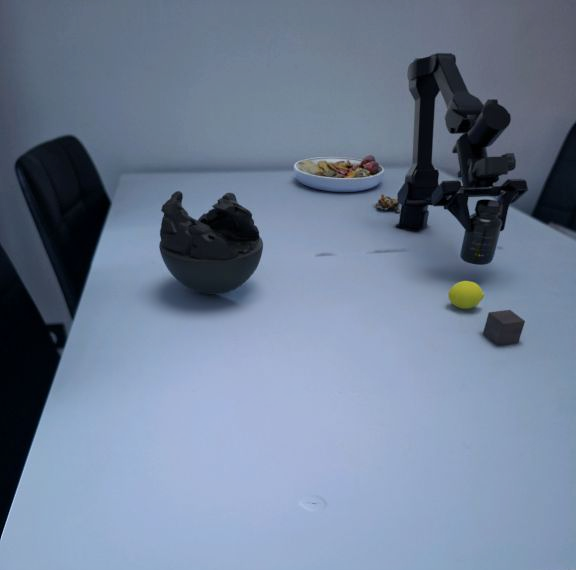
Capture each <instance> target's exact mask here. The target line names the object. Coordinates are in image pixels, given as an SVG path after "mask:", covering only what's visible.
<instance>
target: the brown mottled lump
mask: <svg viewBox="0 0 576 570" xmlns="http://www.w3.org/2000/svg"><path fill="white" fill-rule="evenodd" d="M380 197H381V198H380V199H378V200H377V202H376V203H375V208H379V209H381V210H388V209H395V212H396V213H399V214H400V212H401V209H400V208H399V205H400V203H398V202H397V198H393V197H391V196H385V194H383V193H381V195H380Z"/></svg>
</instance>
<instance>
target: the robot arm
mask: <svg viewBox="0 0 576 570" xmlns="http://www.w3.org/2000/svg"><path fill="white" fill-rule="evenodd" d="M406 76H407V77H406V78H407V80H408V91H409V92H410V93H409V94H410V95H411V96H412V98H413V100H414V113H413V115H414V116H413V139H412V140H413V141H412V161H411V166H410V167H409V169H408V170H407V172H406V174H405V177H404V183H403V184H402V186H401V187H400V189H399V190H398V192H397V195H396V196H397V197H396V199H397V202H398V203H399V205H401V207H400V212H399V220H398V223H397V224H395V227H397V228H400V229H404V230H408V231H412V232H420V231H421V230H423V229H425V228H426V227H428V220H429V214H430V210H428V209H429V206H433V207H443V210H445V211H446V210H447V211H448V212H449V213H450V214H451V215H452V216H453V217H454V218H455V219H456V220H457V221H458V222H459V224H460V225H461V227H462V228H463V229H464V231H465V230H466V231H467V232H468V233H470V232H471V231H472V225H471V219H470V215H471V214H470V209H469V204H468V203H469V198H484V197H485V198H487V197H493V200H495V201H498V202H500V203H501V204H502V206H501V210H500V211H501V212H500V214H499V215H498V216H499V217H500V218H501V220H502V227H501V230H500V232H503V231H504V230H505V227H506V222H507V217H508V211H509V207H510V205H511V204H515V203H516V202H517V201H518V200H519V199H520V198H521V197H523V196H524V195H525V194H526V193H527V192H528V191H529V186H528V182H527V180H526V179H524V178H507V179H506V180H505V181H504V182H503V183H502V184H500V185H497V186H494V184H495V183H497V182H498V181H500V177H501V176H503V175H504V176H505V175H506V176H507V175H508V174H509V172H511V171H514V170H515V169H516V167H517V160H516V156H515V152H506V153H504V154H501V156H489V155H488V149H487V148H489V147H491V146H492V145H493V144H494V143H495V142H496V141H497V140H498V138H499V137H500V136H501V135H502V134H503V133H504V132H505V131H506V129H507V128H508V127H509V125H510V124H511V120H512V117H511V113H509V111H508V109H506V107H505V106H504V105H502V104H499V101H498V99H496V98H495V99H494V98H493V99H492V98H489V99H488V98H487V100H486V101H485V103H484V104H483V102H482V101H481V100H480V98H479V97H477V96H476V95H474V94H471V93H470V92H469V90H468V87H467V85H466V83H465V81H464V78H463V76H462V74H461V71H460V70H459V68H458V65H457V57H456V55H455V54H453V53H452V52H435V53H432V54H430V55H429V56H425V57H416V58H414V59H413V61H412V62H410V63H409V65H408V66H407V73H406ZM439 93H440V94H441V96H442V98H443V101H444V103H445V106H446V111H445V115H444V122H445V127H446V129H447V131H448V133H449V134H450V135H451V134H452V135H460V136H459V137H458V139H456V141H455V144H454V145H453V147H452V150H451V152H452V154H457V160H458V165H459V170H458V171H457V173H456V174H457V178H461V181H460V180H459V179H458V180H457V179H455V180H442V181H441V182H440V184H439V177H440V172H439V169H436V168H435V166H434V164H433V146H434V131H435V130H434V127H435V109H436V98H437V97H438V95H439Z"/></svg>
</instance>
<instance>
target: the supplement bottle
mask: <svg viewBox="0 0 576 570" xmlns="http://www.w3.org/2000/svg"><path fill="white" fill-rule="evenodd" d="M501 206H502V204H501V203H500V202H498V201H495V199H487V198H485V199H478V200H477V201H476V204H475V207H474V212H473V213H472V214H470V219H471V225H472V231H471V232H470V233H468V232H467V231H466V230H465V229H464V235H463V238H462V244H461V248H460V253H459V256H460V259H461V260H462V261H463V262H465V263H467V264H471V265H477V266H485V265H488V264H491V263H492V262H493V260H494V256H495V254H496V251H497V250H496V249H497V247H498V246H497V245H498V241H499V238H500V234H501V231H500V230H501V227H502V220H501V218H500V217H499V216H498V215H499V214H500V212H501V211H500V210H501Z"/></svg>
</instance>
